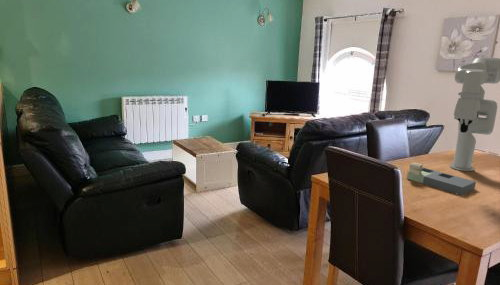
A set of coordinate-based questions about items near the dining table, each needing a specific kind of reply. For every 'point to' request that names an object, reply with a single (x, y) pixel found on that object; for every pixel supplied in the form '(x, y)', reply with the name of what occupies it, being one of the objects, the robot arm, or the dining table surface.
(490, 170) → the dining table surface
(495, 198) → the dining table surface
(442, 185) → the board
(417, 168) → the maple block
